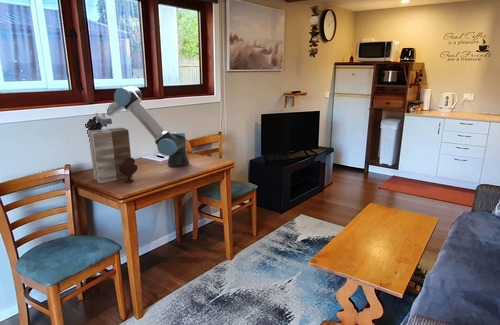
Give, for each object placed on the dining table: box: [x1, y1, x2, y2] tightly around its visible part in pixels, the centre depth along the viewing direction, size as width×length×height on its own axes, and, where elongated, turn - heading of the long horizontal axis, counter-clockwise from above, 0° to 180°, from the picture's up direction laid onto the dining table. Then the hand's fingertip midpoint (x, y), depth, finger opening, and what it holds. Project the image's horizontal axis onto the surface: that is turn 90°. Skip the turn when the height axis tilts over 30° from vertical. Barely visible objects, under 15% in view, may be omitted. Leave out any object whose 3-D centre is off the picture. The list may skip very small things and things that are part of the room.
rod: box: [97, 116, 113, 125], centre depth 208 cm, size 20×5×3 cm, turn 38°
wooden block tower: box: [88, 127, 134, 184], centre depth 210 cm, size 12×20×30 cm, turn 128°
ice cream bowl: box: [119, 156, 138, 184], centre depth 205 cm, size 11×11×15 cm
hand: (100, 114), depth 210 cm, fingers closed on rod, 3 cm apart
